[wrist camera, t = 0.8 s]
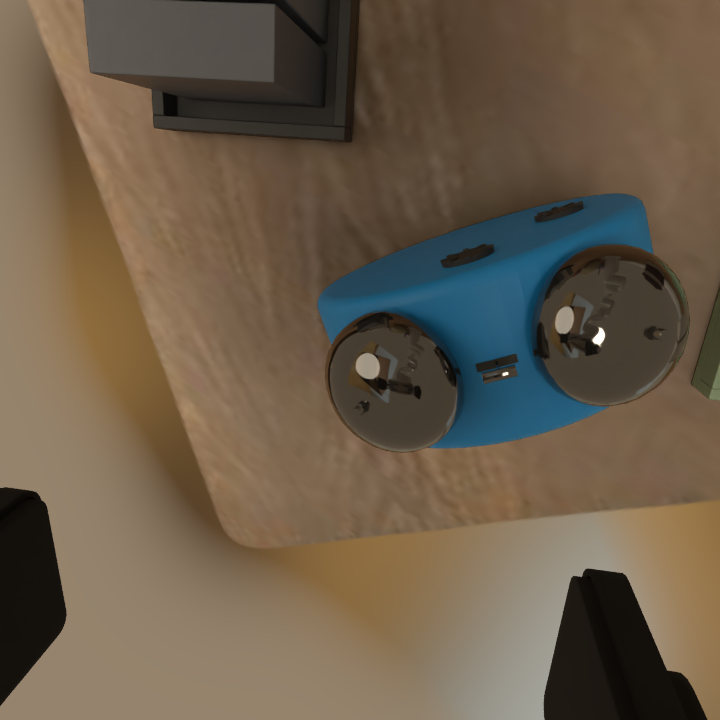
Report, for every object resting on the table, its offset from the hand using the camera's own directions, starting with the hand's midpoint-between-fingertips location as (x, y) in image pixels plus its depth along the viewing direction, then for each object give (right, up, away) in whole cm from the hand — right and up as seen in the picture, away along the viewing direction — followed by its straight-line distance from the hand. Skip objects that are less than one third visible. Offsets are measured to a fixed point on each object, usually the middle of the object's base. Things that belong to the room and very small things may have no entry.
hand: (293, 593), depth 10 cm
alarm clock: (+7, +9, +20) cm, 23 cm away
